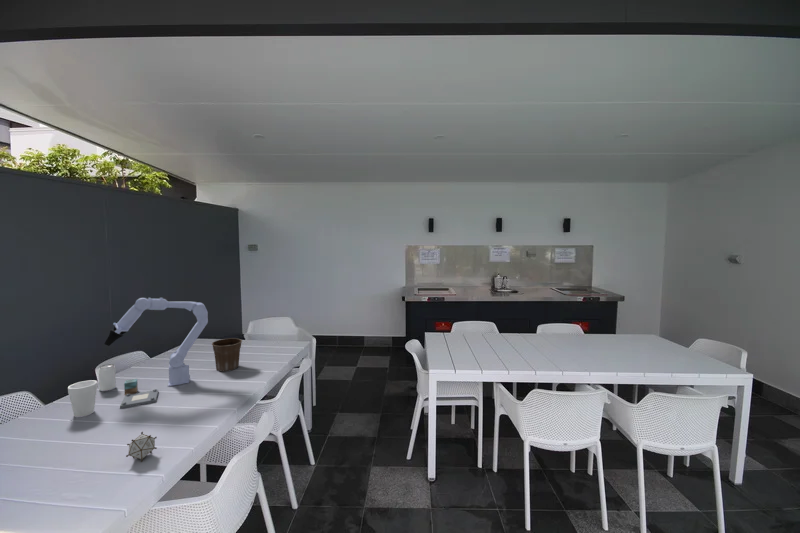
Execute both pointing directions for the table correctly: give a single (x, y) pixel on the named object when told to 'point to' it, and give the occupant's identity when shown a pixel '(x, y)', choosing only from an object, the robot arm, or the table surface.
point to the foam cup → (83, 397)
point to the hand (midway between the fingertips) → (108, 343)
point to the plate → (139, 398)
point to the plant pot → (227, 353)
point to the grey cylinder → (107, 377)
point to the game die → (141, 446)
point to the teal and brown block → (130, 386)
